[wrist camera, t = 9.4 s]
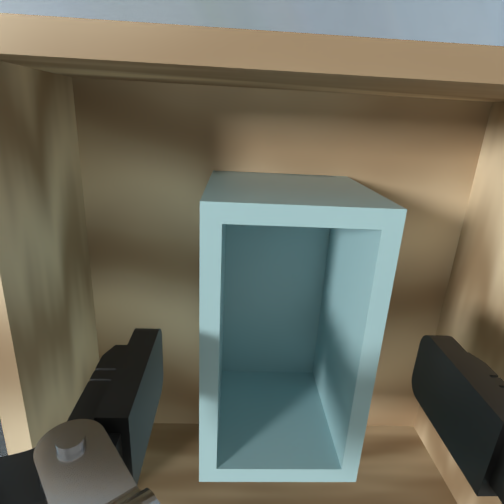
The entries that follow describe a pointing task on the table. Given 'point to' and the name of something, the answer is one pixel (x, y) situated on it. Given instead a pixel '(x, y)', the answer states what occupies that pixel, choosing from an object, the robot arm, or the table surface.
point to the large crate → (188, 218)
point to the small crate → (290, 323)
